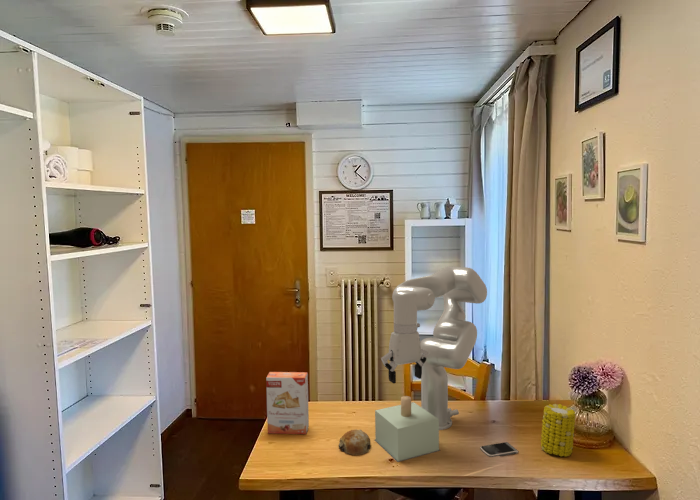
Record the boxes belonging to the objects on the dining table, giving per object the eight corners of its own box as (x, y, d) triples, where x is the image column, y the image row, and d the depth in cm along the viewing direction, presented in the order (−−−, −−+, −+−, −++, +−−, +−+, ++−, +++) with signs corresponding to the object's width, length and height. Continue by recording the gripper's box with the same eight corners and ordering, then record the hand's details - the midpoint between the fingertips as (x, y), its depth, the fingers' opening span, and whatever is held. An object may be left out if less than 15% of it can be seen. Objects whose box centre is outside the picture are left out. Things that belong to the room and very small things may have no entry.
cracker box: (267, 434, 167) (265, 376, 165) (271, 426, 173) (269, 371, 171) (306, 435, 166) (305, 377, 164) (309, 427, 172) (307, 371, 170)
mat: (414, 431, 168) (414, 429, 168) (440, 451, 153) (440, 450, 153) (373, 440, 161) (373, 439, 161) (397, 463, 147) (397, 462, 147)
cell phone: (478, 450, 155) (478, 446, 154) (508, 445, 157) (508, 441, 157) (488, 460, 149) (489, 455, 148) (519, 454, 152) (519, 450, 151)
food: (535, 452, 155) (559, 448, 158) (561, 461, 144) (587, 457, 147) (530, 404, 157) (554, 401, 160) (556, 409, 146) (581, 406, 149)
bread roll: (362, 468, 151) (372, 447, 150) (333, 452, 152) (343, 431, 151) (367, 452, 161) (376, 433, 159) (340, 438, 162) (349, 418, 161)
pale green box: (413, 430, 167) (413, 386, 166) (438, 450, 153) (438, 402, 152) (375, 439, 161) (374, 394, 160) (398, 461, 147) (397, 411, 146)
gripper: (421, 323, 161) (421, 372, 162) (376, 328, 154) (376, 380, 155) (434, 327, 154) (434, 379, 155) (387, 333, 147) (387, 387, 148)
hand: (405, 379), depth 155 cm, fingers open, 9 cm apart
